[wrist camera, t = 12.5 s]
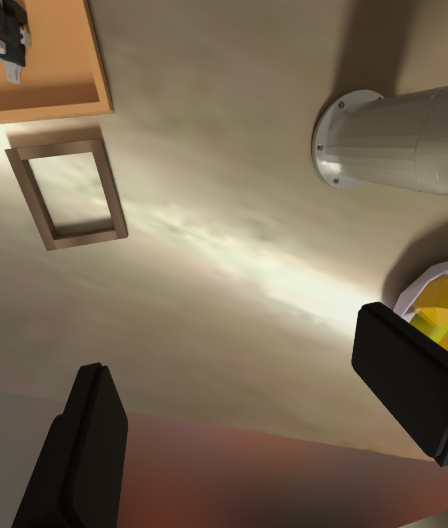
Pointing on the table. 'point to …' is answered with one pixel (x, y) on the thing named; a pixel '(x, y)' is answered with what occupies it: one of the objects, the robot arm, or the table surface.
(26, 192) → the component holder
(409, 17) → the table surface
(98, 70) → the parts tray
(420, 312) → the fruit bowl
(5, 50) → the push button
